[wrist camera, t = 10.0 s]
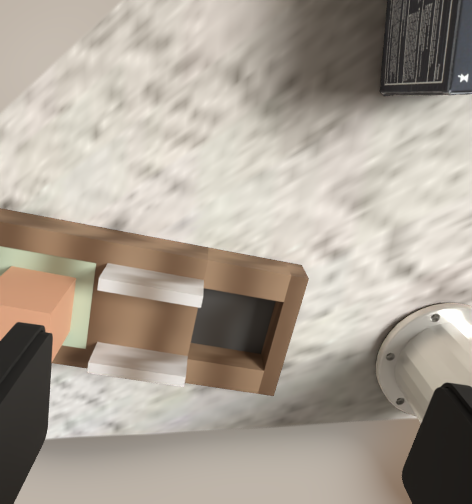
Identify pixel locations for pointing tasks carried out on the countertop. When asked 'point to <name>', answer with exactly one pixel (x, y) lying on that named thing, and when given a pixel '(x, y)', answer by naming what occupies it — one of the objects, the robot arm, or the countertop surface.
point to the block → (37, 302)
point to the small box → (427, 48)
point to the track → (163, 304)
